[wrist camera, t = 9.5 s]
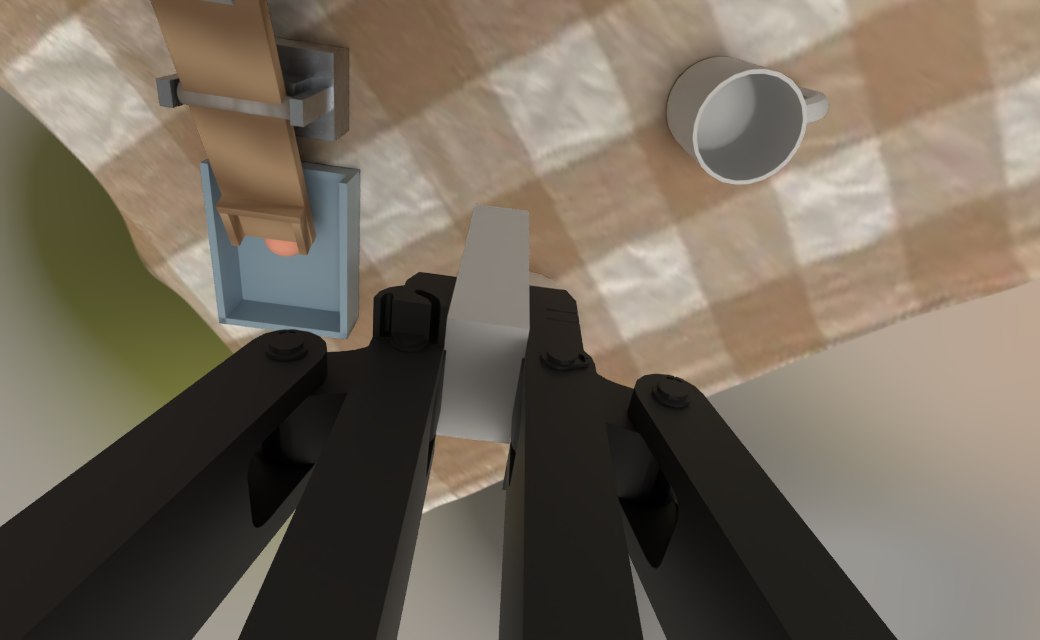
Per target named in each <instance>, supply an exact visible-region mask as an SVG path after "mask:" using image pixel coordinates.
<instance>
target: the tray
mask: <svg viewBox="0 0 1040 640" xmlns="http://www.w3.org/2000/svg"><path fill="white" fill-rule="evenodd" d="M301 165H302V170H303V175H304V179H305V184H306V189H307V194H308V198H309V203H310V208H311V213H312V217H313V222H314V227H315V231H316V238H315V241H314V243H313V245H311V248H310V250H309V253H308V255H300V254H297V255H294V256H289V257H285V256H280V255H277V254H275V253H274V252H272V251H271V250H270V249H269V248H268V247H267V245H266V244H265V241H264V238H260V237H252V236H244V238H243V240H242V242H241V245H240V246H233V245H231V242H230V240H229V237H228V234H227V232H226V229H225V227H224V224H223V221H222V219H221V216H220V213H218V212H217V209H216V205H217V203H218V201H219V200H220V198H221V196H222V195H221V192H220V189H219V187H218V184H217V181H216V178H215V176H214V173H213V170H212V167H211V165H210V162H209V159H206V160H204V161H202V162H200V170H201V178H202V186H203V194H204V202H205V211H206V219H207V227H208V235H209V243H210V251H211V259H212V268H213V276H214V284H215V292H216V300H217V308H218V317H219V323H222V324H230V325H238V326H246V327H254V328H261V329H269V330H283V329H287V330H289V329H296V330H302V331H308V332H311V333H313V334H316V335H318V336H324V337H332V338H340V339H348V337H349V335H350V333H351V331H352V329H353V327H354V325H355V323H356V321H357V319H358V318H359V230H360V170H357V169H350V168H343V167H336V166H329V165H322V164H316V163H309V162H302V161H301Z"/></svg>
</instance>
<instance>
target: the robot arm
mask: <svg viewBox="0 0 1040 640" xmlns="http://www.w3.org/2000/svg"><path fill="white" fill-rule="evenodd" d="M577 314H578V311H577V305H576V301H575V300H574V299H573V297H572V296H571V295H570V294H569V293H568V292H567V291H566V290H561V289H553V288H546V287H539V286H531V285H529V211H524V210H517V209H510V208H503V207H496V206H489V205H482V204H475V208H474V212H473V216H472V220H471V224H470V228H469V232H468V236H467V240H466V244H465V248H464V252H463V256H462V260H461V264H460V268H459V272H458V276H457V277H453V276H445V275H438V274H430V273H423V272H419V273H417V274H416V275H414V276H412V277H411V278H409V279H408V280H407V281H406V283H405V285H402V286H395V287H389V288H387V289H384V290H382V291H380V292H379V293H378V294H377V295H376V296H375V297H374V308H373V337H372V340H371V342H370V344H369V346H367V347H365V348H361V349H357V350H350V351H340V352H327V347H326V342H325V341H324V340H323V339H322V338H321V337H320V336H318V335H316V334H313V333H311V332H308V331H302V330H296V329H289V330H287V329H283V330H277V331H273V332H269V333H265V334H263V335H261V336H259V337H257V338H255V339H253V340H252V341H251V342H249V343H248V344H247V345H245V346H244V347H242V348H241V349H240V350H238V351H237V352H236V353H234V354H233V355H232V356H231V357H229V358H228V359H226V360H225V361H224V362H222V363H221V364H220V365H218V366H217V367H216V368H214V369H213V370H211V371H210V372H209V373H207V374H206V375H205V376H203V377H202V378H201V379H199V380H198V381H197V382H195V383H194V384H193V385H191V386H190V387H188V388H187V389H186V390H185V391H183V392H182V393H180V394H179V395H178V396H176V397H175V398H174V399H173V400H171V401H170V402H168V403H167V404H166V405H164V406H163V407H162V408H160V409H159V410H157V411H156V412H155V413H153V414H152V415H151V416H149V417H148V418H147V419H145V420H144V421H143V422H141V423H140V424H139V425H137V426H136V427H134V428H133V429H132V430H131V431H129V432H128V433H126V434H125V435H124V436H122V437H121V438H120V439H118V440H117V441H116V442H114V443H113V444H112V445H110V446H109V447H108V448H106V449H105V450H104V451H102V452H101V453H99V454H98V455H97V456H96V457H94V458H93V459H92V460H90V461H89V462H87V463H86V464H85V465H83V466H82V467H81V468H79V469H78V470H77V471H75V472H74V473H72V474H71V475H70V476H68V477H67V478H66V479H64V480H63V481H62V482H60V483H59V484H58V485H56V486H55V487H54V488H52V489H51V490H50V491H48V492H47V493H45V494H44V495H43V496H41V497H40V498H39V499H37V500H36V501H35V502H33V503H32V504H31V505H29V506H28V507H27V508H25V509H24V510H22V511H21V512H20V513H18V514H17V515H16V516H14V517H13V518H12V519H10V520H9V521H8V522H6V523H5V524H4V525H2V526H1V527H0V640H192V638H193V637H194V636H195V635H196V633H197V632H198V631H199V630H200V628H201V627H202V626H203V625H204V623H205V622H206V621H207V620H208V618H209V617H210V616H211V615H212V613H213V612H214V611H215V610H216V608H217V607H218V606H219V605H220V603H221V602H222V601H223V600H224V598H225V597H226V596H227V595H228V593H229V592H230V591H231V589H232V588H233V587H234V585H235V584H236V583H237V582H238V581H239V579H240V578H241V577H242V576H243V574H244V573H245V572H246V571H247V569H248V568H249V567H250V565H251V564H252V563H253V562H254V561H255V559H256V558H257V557H258V556H259V554H260V553H261V552H262V551H263V549H264V548H265V547H266V546H267V544H268V543H269V542H270V541H271V539H272V538H273V537H274V536H275V534H276V533H277V532H278V531H279V529H280V528H281V527H282V525H283V524H284V523H285V522H286V520H287V519H288V518H289V517H290V515H291V514H292V513H293V511H294V510H295V509H296V510H295V513H294V515H293V517H292V520H291V522H290V524H289V526H288V528H287V531H286V533H285V535H284V537H283V540H282V542H281V544H280V546H279V548H278V551H277V553H276V555H275V557H274V560H273V562H272V564H271V567H270V569H269V571H268V573H267V575H266V578H265V580H264V582H263V584H262V587H261V589H260V591H259V594H258V596H257V598H256V600H255V602H254V605H253V607H252V609H251V611H250V614H249V616H248V618H247V620H246V623H245V625H244V627H243V629H242V632H241V634H240V636H239V639H238V640H397V635H398V630H399V625H400V620H401V615H402V610H403V605H404V600H405V595H406V590H407V585H408V580H409V575H410V570H411V565H412V560H413V555H414V550H415V545H416V540H417V535H418V529H419V525H420V520H421V515H422V510H423V505H424V500H425V495H426V490H427V485H428V480H429V475H430V470H431V465H432V460H433V455H434V448H435V437H436V435H440V436H449V437H457V438H466V439H474V440H482V441H491V442H499V443H508V444H509V443H510V438H511V443H510V449H509V454H508V460H507V466H506V471H505V477H504V483H503V488H502V489H503V490H506V500H505V521H504V541H503V542H504V543H503V563H502V582H501V603H500V624H499V640H643V635H642V630H641V623H640V618H639V612H638V606H637V601H636V595H635V589H634V584H633V578H632V572H631V566H630V561H629V556H630V558H631V561H632V563H633V565H634V567H635V569H636V572H637V573H638V576H639V578H640V581H641V583H642V585H643V587H644V589H645V592H646V594H647V596H648V598H649V601H650V603H651V605H652V607H653V609H654V612H655V613H656V616H657V618H658V621H659V623H660V625H661V627H662V630H663V632H664V634H665V636H666V638H667V640H897V638H896V637H895V636H894V634H893V633H892V632H891V631H890V630H889V628H888V627H887V626H886V624H885V623H884V622H883V621H882V619H881V618H880V617H879V616H878V614H877V613H876V612H875V611H874V609H873V608H872V607H871V605H870V604H869V603H868V602H867V600H866V599H865V598H864V597H863V595H862V594H861V593H860V591H859V590H858V589H857V588H856V586H855V585H854V584H853V583H852V582H851V580H850V579H849V578H848V576H847V575H846V574H845V573H844V571H843V570H842V569H841V568H840V566H839V565H838V564H837V562H836V561H835V560H834V559H833V557H832V556H831V555H830V554H829V552H828V551H827V550H826V549H825V547H824V546H823V545H822V544H821V542H820V541H819V540H818V538H817V537H816V536H815V535H814V533H813V532H812V531H811V530H810V528H809V527H808V526H807V525H806V524H805V522H804V521H803V519H802V518H801V517H800V516H799V514H798V513H797V512H796V511H795V509H794V508H793V507H792V506H791V504H790V503H789V502H788V501H787V499H786V498H785V497H784V495H783V494H782V493H781V492H780V490H779V489H778V488H777V487H776V485H775V484H774V483H773V482H772V480H771V479H770V478H769V477H768V475H767V474H766V473H765V472H764V470H763V469H762V468H761V466H760V465H759V464H758V463H757V461H756V460H755V459H754V458H753V456H752V455H751V454H750V453H749V451H748V450H747V449H746V447H745V446H744V445H743V444H742V443H741V441H740V440H739V439H738V437H737V436H736V435H735V434H734V432H733V431H732V430H731V429H730V427H729V426H728V425H727V424H726V422H725V421H724V420H723V418H722V417H721V416H720V415H719V413H718V412H717V411H716V410H715V408H714V407H713V406H712V404H711V403H710V402H709V401H708V400H707V398H706V397H705V396H704V394H703V393H702V392H700V391H699V390H698V389H697V388H696V387H695V386H694V385H692V384H690V383H688V382H686V381H684V380H683V379H681V378H678V377H674V376H671V375H664V374H650V375H644V376H643V377H641V378H640V379H638V380H637V382H636V384H635V387H634V389H632V388H629V387H626V386H623V385H620V384H617V383H615V382H612V381H610V380H607V379H605V378H604V377H602V376H600V375H598V374H597V373H596V367H595V364H594V362H593V360H592V358H591V356H589V355H588V354H587V353H586V352H585V351H584V350H583V343H582V337H581V330H580V324H579V318H578V315H577ZM628 554H629V555H628Z"/></svg>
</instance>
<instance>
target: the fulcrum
mask: <svg viewBox="0 0 1040 640" xmlns="http://www.w3.org/2000/svg"><path fill="white" fill-rule="evenodd" d="M274 38H275V43H276V47H277V52H278V57H279V61H280V66H281V71H282V76H283V80H284V85H285V90H286V95H287V96H289V97H292V98H289V103H290V125H293V128H294V132H295V136H299V137H306V138H312V139H319V140H326V141H333V142H335V141H336V140H337V139H339V138H340V137H341V136H343V135H344V134H345V133H346V132H348V131H349V49H348V48H341V47H335V46H329V45H322V44H316V43H309V42H303V41H297V40H290V39H284V38H277V37H274ZM179 82H180V80H179V77H178V74H173V75H169V76H164V77H160V78H156V83H157V90H158V96H159V103H160V106H164V107H171V108H174V107H177V106H180V105H183V104H182V103H181V102H180V101H179V99H178V96H177V86H178V83H179Z"/></svg>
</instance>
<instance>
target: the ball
mask: <svg viewBox="0 0 1040 640" xmlns="http://www.w3.org/2000/svg"><path fill="white" fill-rule="evenodd" d="M264 241H265V244H266V245H267V247H268V248H269V249H270V250H271V251H272V252H274V253H275V254H277V255H280V256H285V257H289V256H294V255H297V254H299V250H298V246H297V243H296V242H289V241H282V240H274V239H267V238H264Z"/></svg>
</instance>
